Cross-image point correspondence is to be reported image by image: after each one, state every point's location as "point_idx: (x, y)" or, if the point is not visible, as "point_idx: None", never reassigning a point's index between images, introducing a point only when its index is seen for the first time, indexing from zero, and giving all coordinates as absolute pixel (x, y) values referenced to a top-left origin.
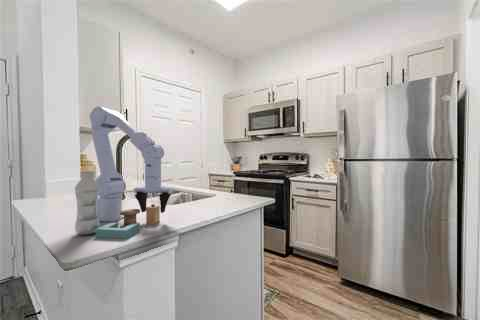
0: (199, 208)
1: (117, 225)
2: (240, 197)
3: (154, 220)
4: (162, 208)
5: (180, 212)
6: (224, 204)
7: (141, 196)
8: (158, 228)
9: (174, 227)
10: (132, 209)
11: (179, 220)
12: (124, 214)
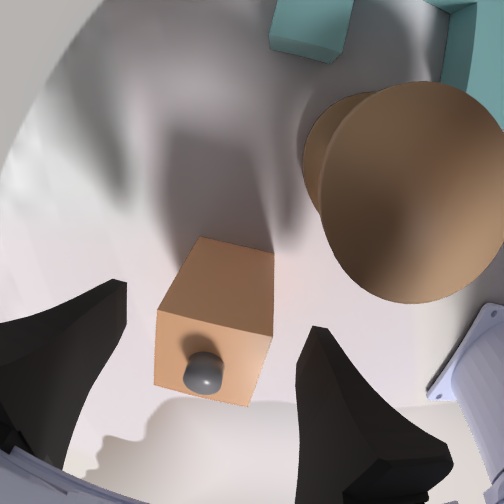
0: (86, 449)
1: None
2: None
3: (199, 247)
4: (86, 293)
5: (136, 427)
6: None
7: (354, 461)
8: (136, 109)
9: (47, 137)
10: (420, 277)
11: (68, 289)
12: (457, 91)
